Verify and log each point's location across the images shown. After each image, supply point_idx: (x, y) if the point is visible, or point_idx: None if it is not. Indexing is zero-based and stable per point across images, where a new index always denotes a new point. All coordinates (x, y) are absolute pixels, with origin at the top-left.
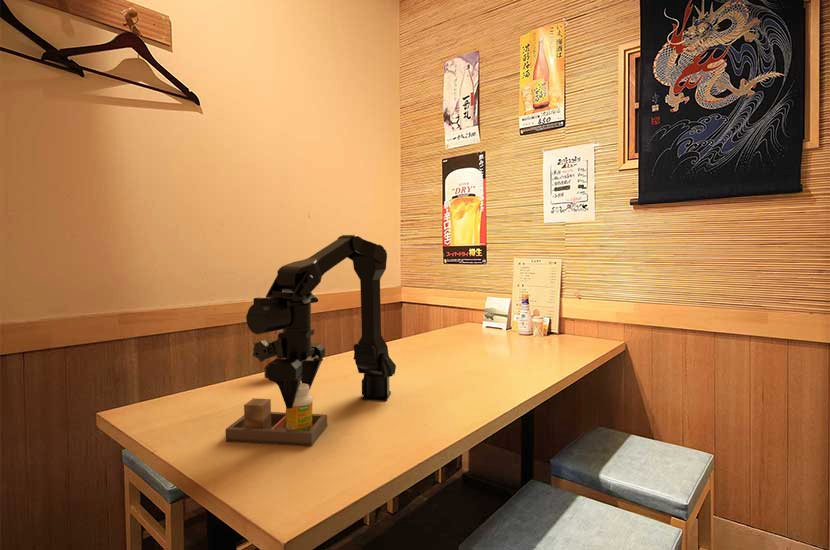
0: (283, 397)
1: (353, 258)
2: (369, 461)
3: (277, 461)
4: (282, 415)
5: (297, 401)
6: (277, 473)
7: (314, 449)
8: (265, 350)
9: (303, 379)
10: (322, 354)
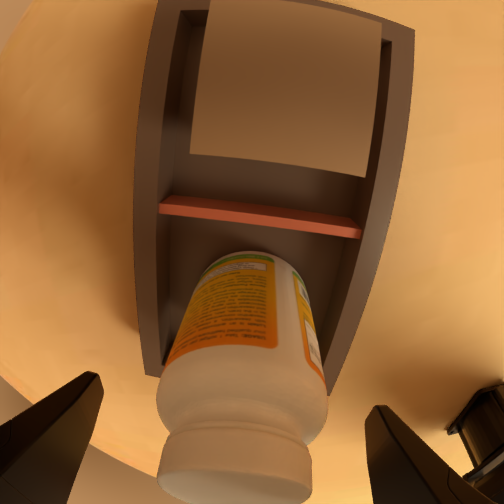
0: (33, 408)
1: None
2: (122, 433)
3: (56, 266)
4: (364, 215)
5: (164, 422)
6: (19, 281)
7: (141, 352)
8: None
9: (405, 477)
10: None
